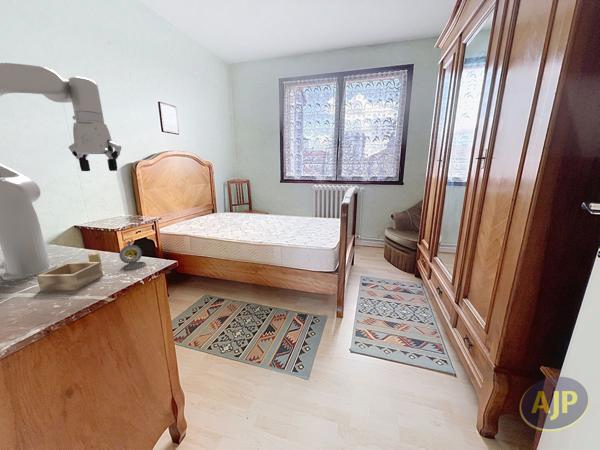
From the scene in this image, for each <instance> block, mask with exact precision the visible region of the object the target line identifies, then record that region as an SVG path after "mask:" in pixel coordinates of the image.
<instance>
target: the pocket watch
mask: <svg viewBox="0 0 600 450" xmlns="http://www.w3.org/2000/svg"><path fill="white" fill-rule="evenodd" d="M126 240H128V241H126ZM130 240H131V241H130ZM133 240H134V239H133V238H125V239H124V240H123V243H125V244H127V245H126V246H124V247H123V248H121V250H120V252H119V256H118V257H119V259H120V260H121V261H122V262H123V263H124V264H126V265H123V267H122V268H123V270H125V271H133V270H138V269H141V268H143V267H145V266H146V265H147V263H146V262H145V261H140V259H141V258H142V255H143V251H142V249H141V248H140V247H139V246H138V245H135V244H131V243H133ZM136 264H142V265H141V266H138V267H133V268H126V267H128V266H131V265H136Z"/></svg>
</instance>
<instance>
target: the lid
mask: <svg viewBox="0 0 600 450" xmlns="http://www.w3.org/2000/svg"><path fill="white" fill-rule="evenodd" d="M87 257H88V262H100V263H101V267H102V266H103V265H102V261H101V257H100V253H99V252H93V253H89V254H88V256H87Z"/></svg>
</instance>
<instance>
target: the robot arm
mask: <svg viewBox="0 0 600 450" xmlns="http://www.w3.org/2000/svg"><path fill="white" fill-rule="evenodd" d="M6 94H36V95H43V96H44V97H45V98H47V99H48V100H49V101H52V102H55V103H62V104H63V103H66V104H67V103H71V104H72V108H73V113H74V114H73V116H72V119H73V120H74V121H75V122H73V125H72V133H73V142H74V143H72V144H70V145H69V146H68V149H69V151H70V152H71V153H72V155H73V156H74V157H75V158H76V160H78V163H79V167H80V171H81V172H90V171H91V168H90V162H89V161H90V160H88V159H87V158H88V157H89V155H105V156H106V157H107V166H108V171H110V172H117V171H118V163H117V160H118V158H119V156H120V155H121V151H122V146H121V145H119V144H118V143H114V142H113V141H112V136H111V133H110V131H109V129H108V125H107V124H106V123H105V119H104V113H103V109H102V108H103V107H102V103H101V96H100V91H99V86H98V84H97V82H96V81H94V80H92V79H90V78H86V77H81V76H71V77H69V78H68V80H67V79H64V78H62V77H61V75H59V74H58V73H57V72H56V71H54V70H53V69H49V68H47V67H44V66H39V65H33V64H23V63H12V62H0V97H2V96H3V95H6ZM40 197H41V189H40V186H39V185H38V184H37V183H36V182H35V181H34V180H32V179H31V178H29V177H27V176H24V175H23V174H21V173H19V172H18V171H15V170H14V169H12V168H9V167H8V166H5V165H3V164H2V163H0V249H1V253H2V255H3V259H4V261H2V263H1V264H0V270H1V269H3V270H4V271H5V272H4V273H3V274H2V275H1V279H2V280H4V281H10V280H11V281H12V280H21V279H25V278H26V279H27V278H32V277H35V276H36V277H37V276H38V275H40V274H42V273H45V272H47V271H50V270H52V269H54V268H57V267H58V265H57V264H56V262H50V259H49V256H48V252H47V248H46V243H45V241H44V235H43V232H42V229H41V225H40V220H39V217H38V214H37V212H36V210H35V207H34V206H33V203H34V202H36V201H37V200H39V198H40Z"/></svg>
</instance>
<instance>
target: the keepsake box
mask: <svg viewBox="0 0 600 450" xmlns="http://www.w3.org/2000/svg"><path fill="white" fill-rule="evenodd" d="M101 265H102V262H101V263H100V262H89V261H85V262H83V261H81V262H80V261H79V262H67V263H64V264H62V265H60V266H57V267H56V268H54V269H52V270H50V271H47V272H45V273H42V274H40V275H36V280H37V283H38V287H39V291H43V292H44V291H77V290H79V289H80V288H83V287H84V286H86V285H87V284H89V283H91V282H94V281H95V280H97V279H98V278H100V277H102V276H103V275H104V273H103V269H102V266H101Z"/></svg>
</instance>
